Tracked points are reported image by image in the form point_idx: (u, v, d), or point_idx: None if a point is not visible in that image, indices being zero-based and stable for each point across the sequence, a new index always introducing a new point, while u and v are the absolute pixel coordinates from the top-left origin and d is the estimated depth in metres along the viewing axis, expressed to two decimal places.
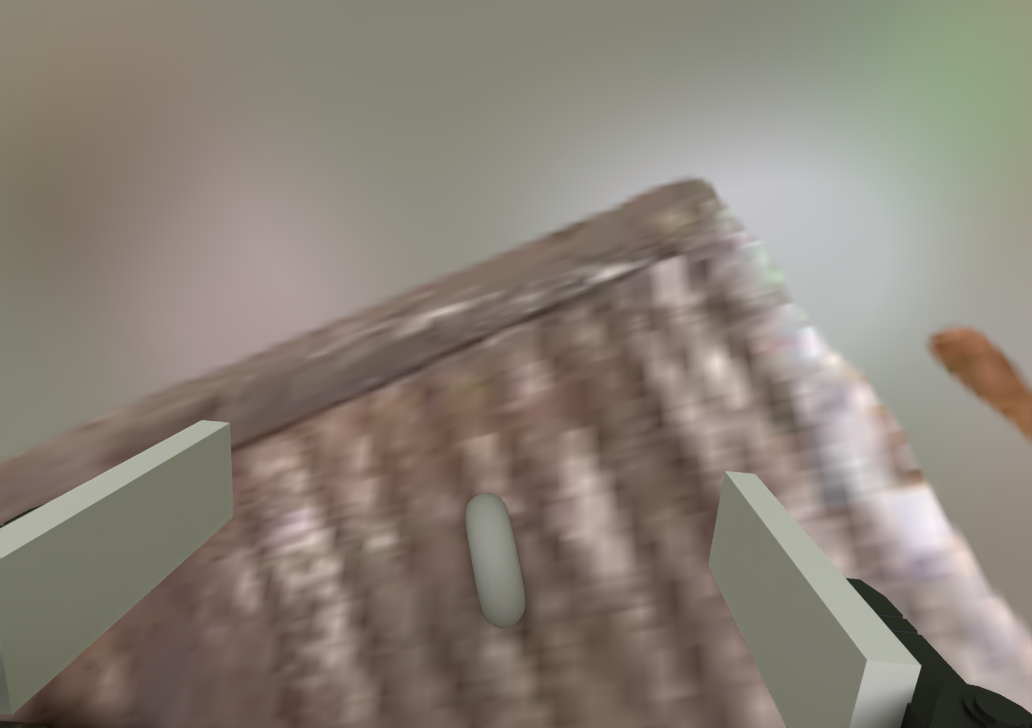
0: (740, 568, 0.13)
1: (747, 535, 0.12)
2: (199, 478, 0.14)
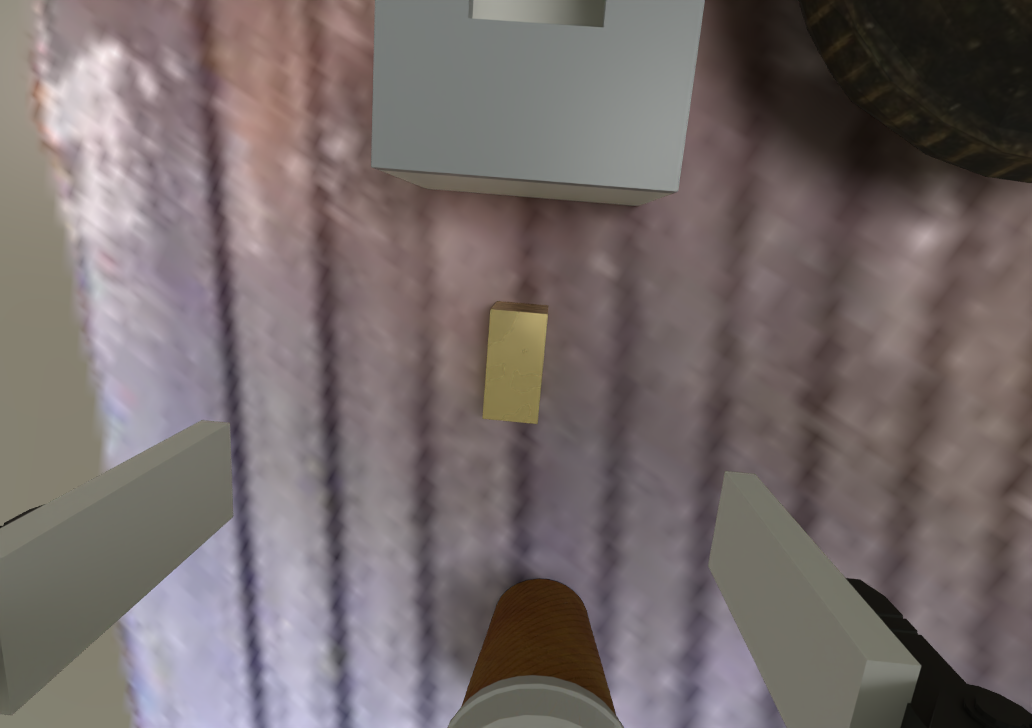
0: (740, 568, 0.13)
1: (747, 535, 0.12)
2: (199, 478, 0.14)
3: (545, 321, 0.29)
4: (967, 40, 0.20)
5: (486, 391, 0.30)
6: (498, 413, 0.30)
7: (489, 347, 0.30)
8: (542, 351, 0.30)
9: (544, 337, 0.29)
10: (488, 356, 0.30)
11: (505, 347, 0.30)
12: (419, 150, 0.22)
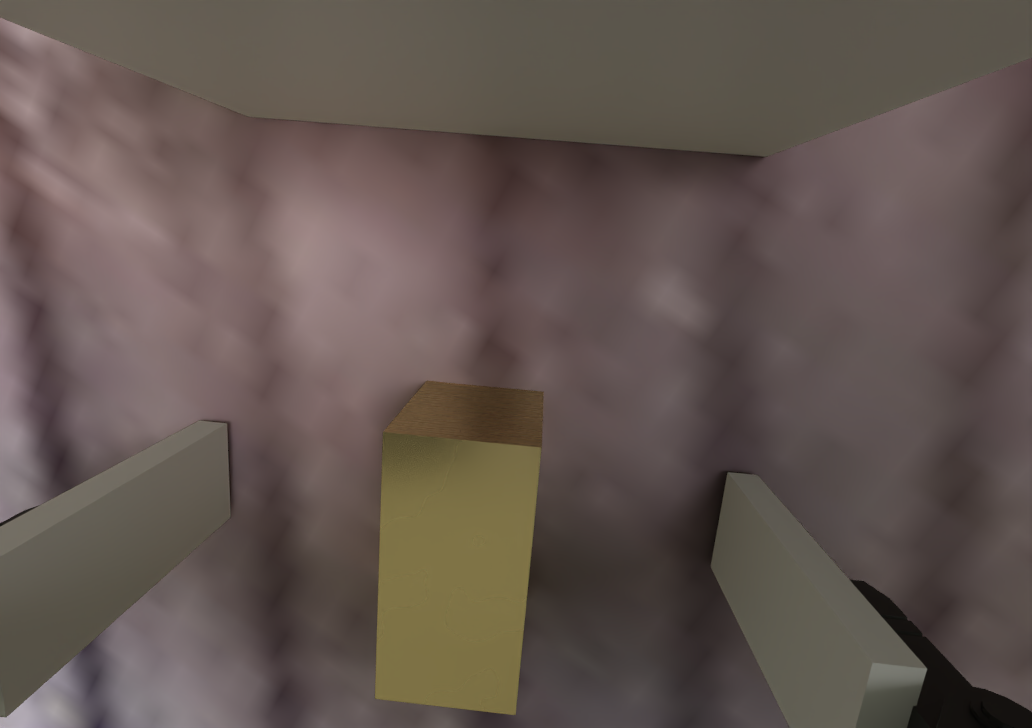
0: (743, 569, 0.13)
1: (750, 536, 0.12)
2: (196, 479, 0.14)
3: (535, 466, 0.11)
4: None
5: (381, 637, 0.12)
6: (414, 688, 0.12)
7: (384, 530, 0.11)
8: (527, 542, 0.11)
9: (532, 507, 0.11)
10: (383, 552, 0.11)
11: (426, 530, 0.11)
12: None
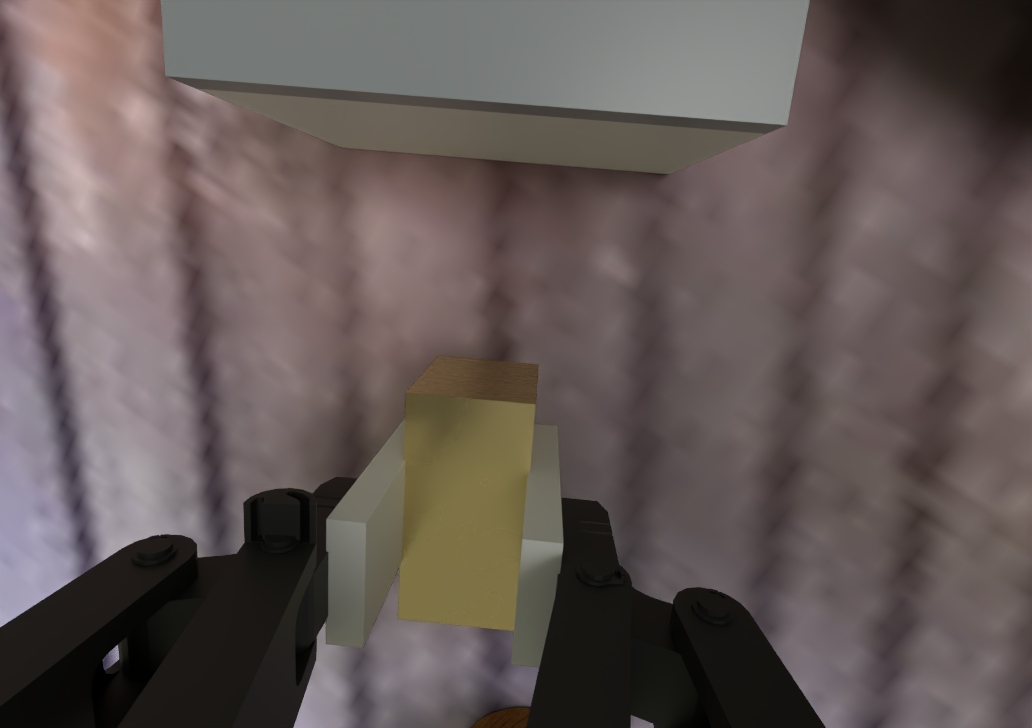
0: None
1: None
2: None
3: (530, 420, 0.13)
4: None
5: (403, 565, 0.14)
6: (431, 609, 0.14)
7: (407, 474, 0.13)
8: (524, 483, 0.13)
9: (529, 454, 0.13)
10: (405, 493, 0.13)
11: (441, 474, 0.13)
12: (260, 40, 0.11)
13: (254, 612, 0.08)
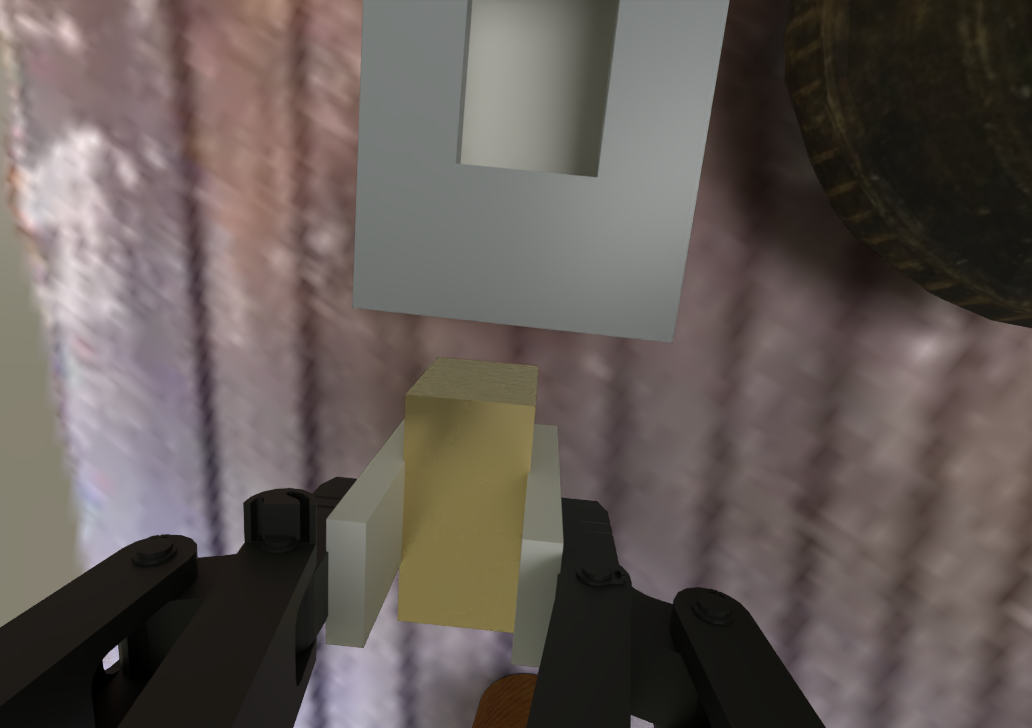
0: None
1: None
2: None
3: (530, 422, 0.13)
4: (976, 206, 0.19)
5: (403, 567, 0.14)
6: (431, 611, 0.14)
7: (406, 476, 0.13)
8: (524, 485, 0.13)
9: (528, 456, 0.13)
10: (405, 495, 0.13)
11: (441, 476, 0.13)
12: (403, 293, 0.21)
13: (254, 613, 0.08)
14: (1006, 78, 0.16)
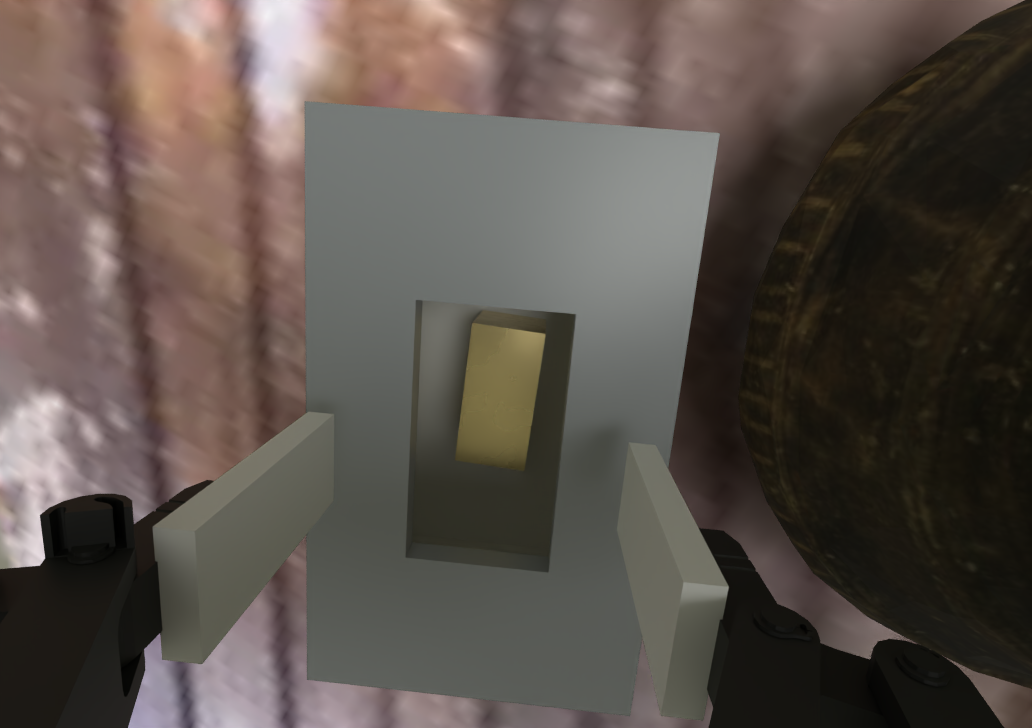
0: (631, 526, 0.14)
1: (636, 496, 0.14)
2: (314, 463, 0.15)
3: (542, 342, 0.23)
4: (930, 614, 0.18)
5: (461, 426, 0.24)
6: (475, 455, 0.24)
7: (468, 371, 0.23)
8: (536, 380, 0.23)
9: (539, 363, 0.23)
10: (466, 382, 0.23)
11: (488, 372, 0.23)
12: (357, 668, 0.21)
13: (66, 626, 0.08)
14: (951, 551, 0.16)
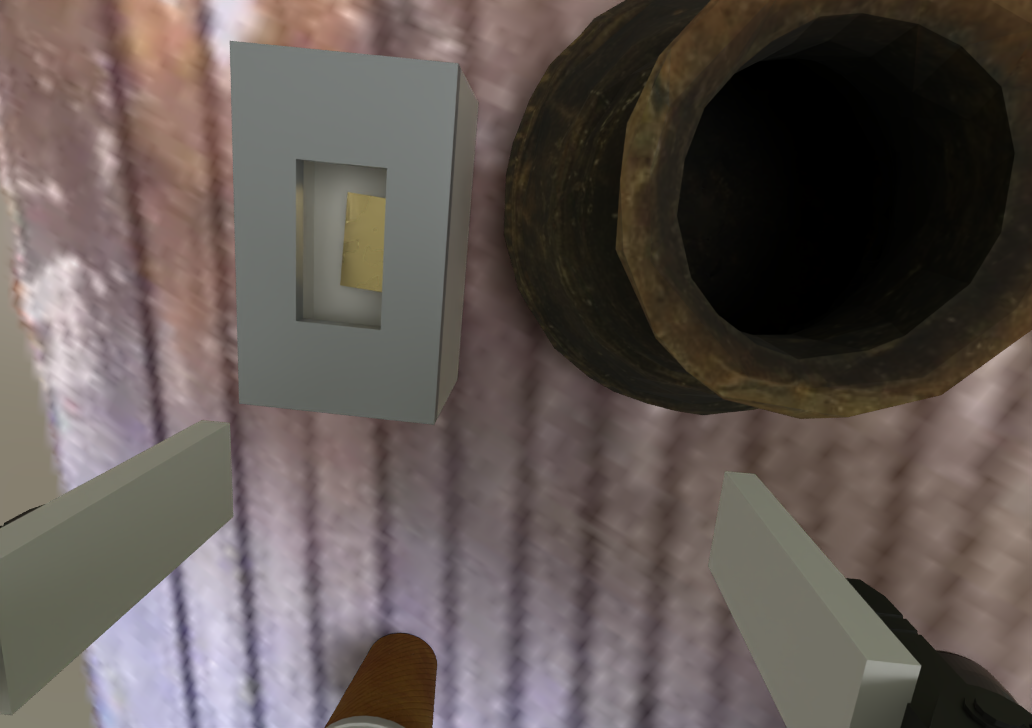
0: (741, 568, 0.13)
1: (747, 535, 0.12)
2: (199, 478, 0.14)
3: None
4: (596, 350, 0.32)
5: (343, 262, 0.37)
6: (353, 281, 0.37)
7: (346, 224, 0.36)
8: None
9: None
10: (345, 232, 0.36)
11: (359, 225, 0.36)
12: (269, 395, 0.34)
13: None
14: (579, 294, 0.29)
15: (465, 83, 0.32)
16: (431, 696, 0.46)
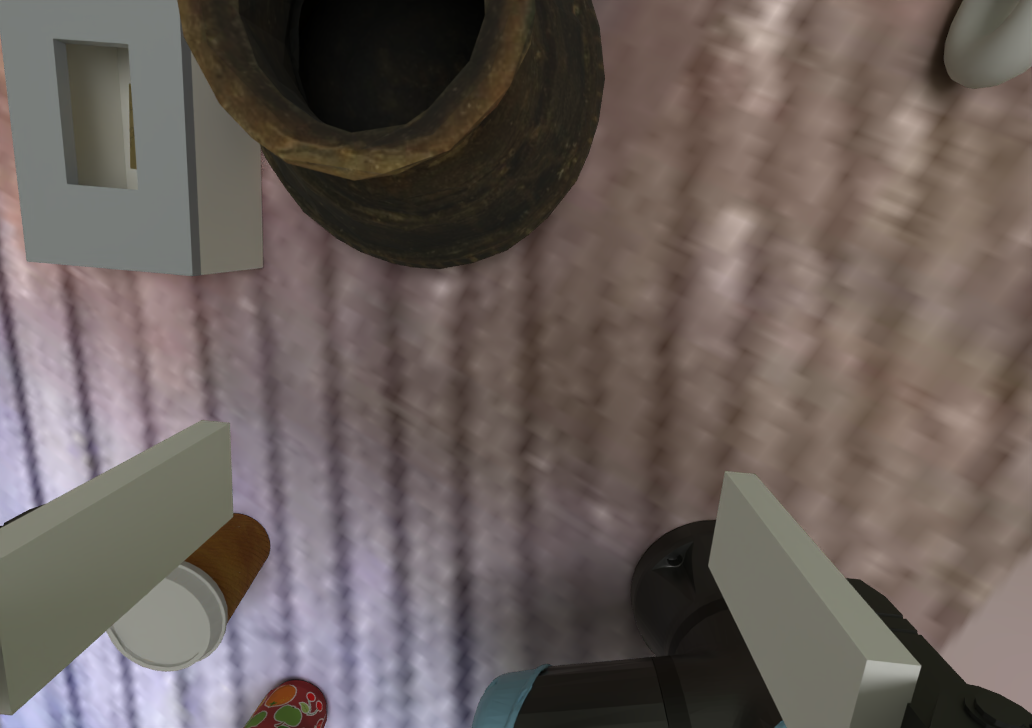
0: (740, 568, 0.13)
1: (747, 535, 0.12)
2: (199, 478, 0.14)
3: None
4: (318, 201, 0.37)
5: (130, 147, 0.42)
6: None
7: (130, 113, 0.42)
8: None
9: None
10: (130, 119, 0.42)
11: None
12: (51, 252, 0.39)
13: None
14: None
15: None
16: (248, 560, 0.50)
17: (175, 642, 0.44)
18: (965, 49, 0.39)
